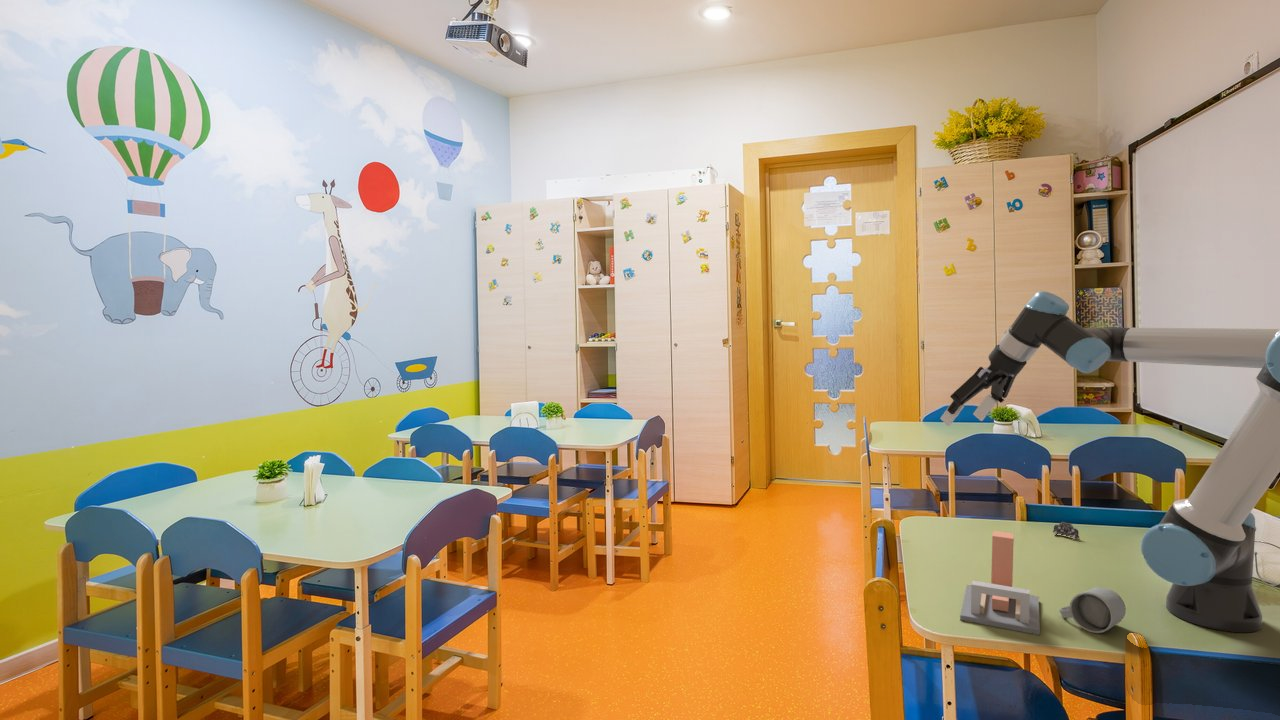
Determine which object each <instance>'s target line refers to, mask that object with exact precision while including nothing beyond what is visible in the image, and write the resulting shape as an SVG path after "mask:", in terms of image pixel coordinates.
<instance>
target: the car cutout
mask: <svg viewBox="0 0 1280 720" xmlns="http://www.w3.org/2000/svg"><path fill="white" fill-rule="evenodd" d="M1052 533H1054V535H1055V534H1061V535H1066V536H1070V537H1073V538H1072V540H1073V539H1074V538H1077V539H1080V535H1079V530H1078V529H1077V528H1075V527H1074V525H1073V524H1071V523H1070V522H1069V523H1068V522H1064V521H1061V522H1060V523H1059V524H1055V525H1054V526H1053V530H1052ZM1074 540H1075V539H1074Z"/></svg>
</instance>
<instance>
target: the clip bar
mask: <svg viewBox="0 0 1280 720" xmlns="http://www.w3.org/2000/svg"><path fill="white" fill-rule="evenodd" d="M1014 535H1015V534H1014V533H1013V532H1004V531H998V530H992V538H991V539H992V542H991V543H992V544H991V578H990V579H991V581H990V583H991V584H997V585H1003V586H1009V587H1013V578H1014V577H1013V576H1014V573H1013V572H1014V571H1013V570H1014V547H1015V545H1014V541H1015V540H1014V539H1015V538H1014ZM1008 608H1009V598H1006V597H1000V596H994V595H992V609H995V610H1000V611H1006V612H1008Z"/></svg>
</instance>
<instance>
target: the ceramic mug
mask: <svg viewBox="0 0 1280 720" xmlns="http://www.w3.org/2000/svg"><path fill="white" fill-rule="evenodd" d="M1126 611H1127V608H1126V604H1125V602H1124V600H1123V599H1122V597H1121V596H1120V594H1118V593H1117V592H1115V591H1114V590H1112V589H1110V588H1107V587H1093V588H1090V589H1088V590H1085V591H1082V592H1079V593H1077V594H1075V595H1074V596H1073V597H1072V599H1071V600H1070V604H1069V605H1067V606H1064V607H1061V608H1060V609H1059V613H1060V616H1061V618H1065V619H1066V618H1067V619H1071V618H1072V619H1073V621H1074V622H1075V623H1076V624H1077V626H1079V628H1081V629H1083V630H1085V631H1087V632H1090V633H1095V634H1102V633H1105V632H1107V631H1109V630H1110V629H1112V628H1113V627H1114V626H1115V625H1117V624H1119V623H1120V622H1122V620H1123V619H1124V617H1125V615H1126Z"/></svg>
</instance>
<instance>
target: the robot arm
mask: <svg viewBox="0 0 1280 720" xmlns="http://www.w3.org/2000/svg"><path fill="white" fill-rule="evenodd" d="M1069 310H1070V305H1069V303H1067V302H1066V300H1064V299H1063V298H1061V297H1060V296H1058V295H1057V294H1054V293H1052V292H1049V291H1044V290H1043V291H1041V290H1040V291H1037V292H1036V293H1034V295H1033V296H1032V297H1031V298H1030V300H1029V301H1028V302H1027V303H1026V304H1025V305H1024V308H1023V309H1022V310H1021V311H1020V312H1019V314H1018V315H1017V317H1016V318H1015V320H1014V321H1013V322H1012V324H1011V325H1010V327H1009V328H1008V330H1005V331H1004V333H1003V334H1004V335H1003V336H1002V338H1001V339H1000V340H999V342H998V344H996V345H995V347H994V348H993V349H992V351H991V352H990V354H989V355H988V360H989V361H990V362H989V363H990V364H989V365H988V366H987V367H986V368H984V367H983V366H980V367H978V369H976V370H975V372H974V373H973V374H972V375H971V376H970V377H969V378H968V379H967V380H965V382H964V383H962V384H961V385H960V387H959V386H958V388H957V389H956V390H955V391H953V393H952V394H951V395H950V398H951V400H952V401H951V403H950V404H949V406H948V407H947V408H946V410H945V411H944V413H943V414H942V415H941V417H940V420H941V421H942V422H943V423H945V425H946V426H948V427H950V426H951V425H952V424H953V422H954V421H955V419H956V418H957V417H958V416H959V414H960V413H961V412H962V411H963V409H964V408H965V404H966V403H967V402H968V401H970V400H972V399H973V398H974V397H976V396H977V395H978V394H979V393H980V392H982V391H983V390H988V389H989V388H990V387H991V389H990V394H987V395H986V396H985V397H984V399H983V400H982V401H981V402H980V404H979V405H978V407H977V408H976V409H975V410H974V412H973V413H972V414H973V416H974V417H975V418H976V419H978V420H979V421H980V422H982V421H984V420H985V418H986V417H987V416H988V415H989V414H990V412H991V411H992V410H993V408H994V407H995V406H996V404H997V403H998V402H999V403H1000V404H1001V403H1003V402H1004V401H1005V399H1006V398H1007V397H1008V395H1009V393H1010V391H1011V388H1012V386H1013V383H1014V382H1015V379H1016V377H1017V376H1018V374H1020V373H1021V371H1022V370H1023V368H1025V366H1026V365H1027V362H1028V361H1030V360H1031V359H1032V358H1033V356H1034V355H1035V354H1036V352H1037V351H1039V350H1038V349H1039V348H1040V347H1041V346H1042V345H1044V346H1045V347H1046V348H1048V349H1049V350H1050V351H1051V352H1053V353H1054V354H1055V355H1056V356H1057V357H1059V358H1060V359H1062V360H1063V361H1065V362H1066V363H1067V364H1068V365H1069V366H1070V367H1071V368H1074V369H1076V370H1077V371H1079V372H1081V373H1083V374H1090V373H1093V372H1094V371H1096V370H1098V369H1100V368H1101V367H1102V366H1103V365H1104V364H1105V363H1106V362H1125V363H1127V362H1131V363H1148V364H1149V363H1150V364H1171V365H1173V364H1174V365H1189V366H1207V367H1208V366H1210V367H1211V366H1212V367H1228V368H1229V367H1230V368H1248V369H1249V368H1250V369H1261V370H1260V371H1259V373H1258V374H1257V376H1256V377H1255V381H1256V384H1257V386H1258V388H1259V392H1258V394H1257V395H1256V396H1255V398H1254V400H1253V401H1252V403H1251V404H1250V406H1249V407H1248V409H1247V410H1246V412H1245V413H1244V415H1243V416H1242V417H1241V419H1240V420H1239V422H1238V424H1237V425H1236V427H1235V428H1234V430H1233V431H1232V432H1231V434H1230V435H1229V437H1228V439H1227V440H1226V441H1225V443H1224V445H1223V446H1222V447H1221V449H1220V450H1219V452H1218V453H1217V455H1216V456H1215V458H1214V459H1213V460H1212V462H1211V464H1210V465H1209V466H1208V468H1207V470H1206V471H1205V472H1204V474H1203V476H1202V477H1201V478H1200V480H1199V482H1198V483H1197V484H1196V486H1195V488H1194V489H1193V490H1192V493H1190V495H1189V496H1188V498H1183V499H1177V500H1175V501H1174V502H1173V503H1172V504H1171V505H1170V507H1169V509H1167V510H1168V511H1166V513H1165V515H1164V516H1163V517H1162V519H1161V521H1160V522H1159V523H1158V524H1155V525H1154V526H1152V527H1150V528H1149V529H1148V530H1147V531H1146V532H1145V533H1144V535H1143V537H1142V539H1141V541H1140V551H1141V554H1142V556H1143V558H1144V562H1145V563H1146V565H1147V566H1148V567H1149V569H1150V570H1151V571H1152V572H1153V573H1154V574H1155V575H1157V576H1158V577H1160V578H1161V579H1163V580H1165V581H1166V582H1168V583H1171V586H1170V588H1169V590H1168V593H1167V594H1166V599H1165V600H1166V601H1165V602H1166V604H1165V608H1166V610H1167V612H1169V613H1170V614H1172V615H1174V616H1175V617H1177V618H1179V619H1181V620H1183V621H1186V622H1189V623H1192V624H1195V625H1197V626H1200V627H1201V626H1202V627H1205V628H1210V629H1213V630H1218V631H1224V632H1225V631H1226V632H1233V633H1252V632H1257V631H1259V630H1261V629H1262V628H1263V614H1262V611H1261V608H1260V604H1259V602H1258V600H1257V596H1256V594H1255V590H1254V587H1253V576H1254V575H1253V573H1254V560H1255V559H1254V556H1255V541H1256V539H1255V537H1256V531H1257V527H1256V517H1255V515H1254V514H1253V513H1252V511H1253V510H1254V508H1255V506H1256V505H1257V504H1258V502H1260V499H1261V498H1262V497H1263V496H1264V494H1265V493H1266V492H1267V490H1268V489H1269V487H1270V486H1271V484H1272V483H1273V482H1274V480H1275V479H1276V477H1277V476H1278V475H1279V473H1280V328H1222V327H1221V328H1215V327H1214V328H1209V327H1208V328H1207V327H1206V328H1203V327H1199V328H1198V327H1195V328H1194V327H1191V328H1190V327H1120V326H1119V327H1118V326H1103V327H1082V325H1079V324H1078V323H1076V322H1075V321H1073V320H1072V319H1071V318H1069V316H1067V314H1068V311H1069Z"/></svg>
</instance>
